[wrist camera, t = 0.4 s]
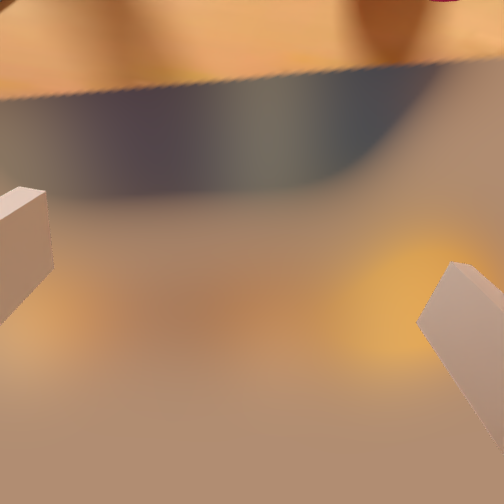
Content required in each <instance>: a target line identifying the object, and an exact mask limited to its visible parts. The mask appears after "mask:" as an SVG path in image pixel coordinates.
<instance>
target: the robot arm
mask: <svg viewBox="0 0 504 504" xmlns="http://www.w3.org/2000/svg"><path fill="white" fill-rule="evenodd" d="M53 269H54V263H53V254H52V244H51V234H50V225H49V216H48V206H47V197H46V191H42V190H36V189H30V188H25V187H17V188H15V189H13V190H11V191H9V192H8V193H6V194H4V195H2V196H0V325H1V324H2V323H3V322H4V321H5V320H6V319H7V318H8V317H9V316H10V315H11V314H12V312H13V311H14V310H15V309H16V308H17V307H18V306H19V305H20V304H21V303H22V302H23V301H24V300H25V299H26V298H27V297H28V296H29V294H31V292H32V291H33V290H34V289H35V288H36V287H37V286H38V285H39V284H40V283H41V282H42V281H43V280H44V279H45V278H46V277H47V275H48V274H49V273H50V272H51V271H52V270H53ZM416 323H417V325H418V326H419V328H420V329H421V331H422V333H423V334H424V336H425V337H426V339H427V340H428V342H429V343H430V345H431V346H432V348H433V349H434V351H435V352H436V354H437V355H438V357H439V358H440V360H441V361H442V363H443V365H444V366H445V368H446V369H447V371H448V372H449V374H450V375H451V377H452V378H453V380H454V381H455V383H456V384H457V386H458V387H459V389H460V390H461V392H462V393H463V395H464V396H465V398H466V399H467V401H468V402H469V404H470V406H471V407H472V408H473V410H474V412H475V413H476V415H477V416H478V418H479V419H480V421H481V422H482V424H483V425H484V427H485V428H486V430H487V431H488V433H489V435H490V436H491V438H492V439H493V441H494V442H495V444H496V445H497V447H498V448H499V450H500V451H501V453H502V454H503V456H504V294H503V293H502V292H501V291H500V290H499V289H498V288H497V287H495V286H494V285H493V284H492V283H491V282H490V281H489V280H488V279H487V278H486V277H484V276H483V275H482V274H481V273H480V272H479V271H478V270H477V269H475V268H474V267H473V266H472V265H469V264H463V263H457V262H452V261H451V262H450V264H449V266H448V267H447V269H446V271H445V273H444V274H443V276H442V278H441V280H440V281H439V283H438V285H437V287H436V288H435V290H434V292H433V294H432V296H431V297H430V299H429V301H428V303H427V304H426V306H425V308H424V310H423V312H422V313H421V315H420V317H419V319H418V320H417V322H416Z"/></svg>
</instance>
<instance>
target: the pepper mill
mask: <svg viewBox="0 0 504 504" xmlns="http://www.w3.org/2000/svg"><path fill="white" fill-rule="evenodd" d="M431 1H439V2H449V1H458V0H431Z"/></svg>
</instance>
